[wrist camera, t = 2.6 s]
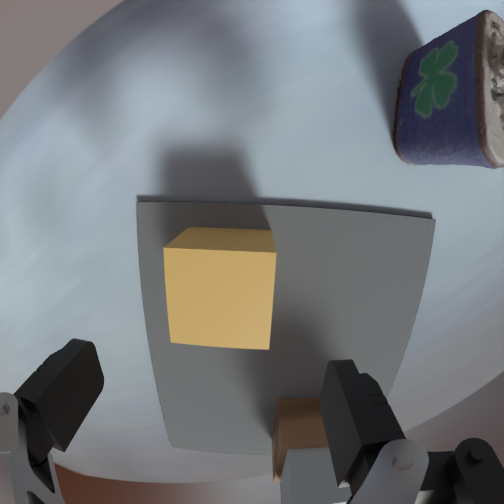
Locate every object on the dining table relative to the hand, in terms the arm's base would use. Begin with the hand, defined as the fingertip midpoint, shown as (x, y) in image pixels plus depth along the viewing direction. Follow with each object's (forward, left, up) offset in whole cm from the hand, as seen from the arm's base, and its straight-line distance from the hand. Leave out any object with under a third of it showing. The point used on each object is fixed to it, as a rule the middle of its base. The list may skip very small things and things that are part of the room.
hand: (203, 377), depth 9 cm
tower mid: (+13, +7, -5) cm, 16 cm away
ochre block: (-1, 0, -10) cm, 10 cm away
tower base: (+13, +7, -10) cm, 18 cm away
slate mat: (+7, +4, -10) cm, 13 cm away
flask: (-13, +12, -10) cm, 20 cm away
